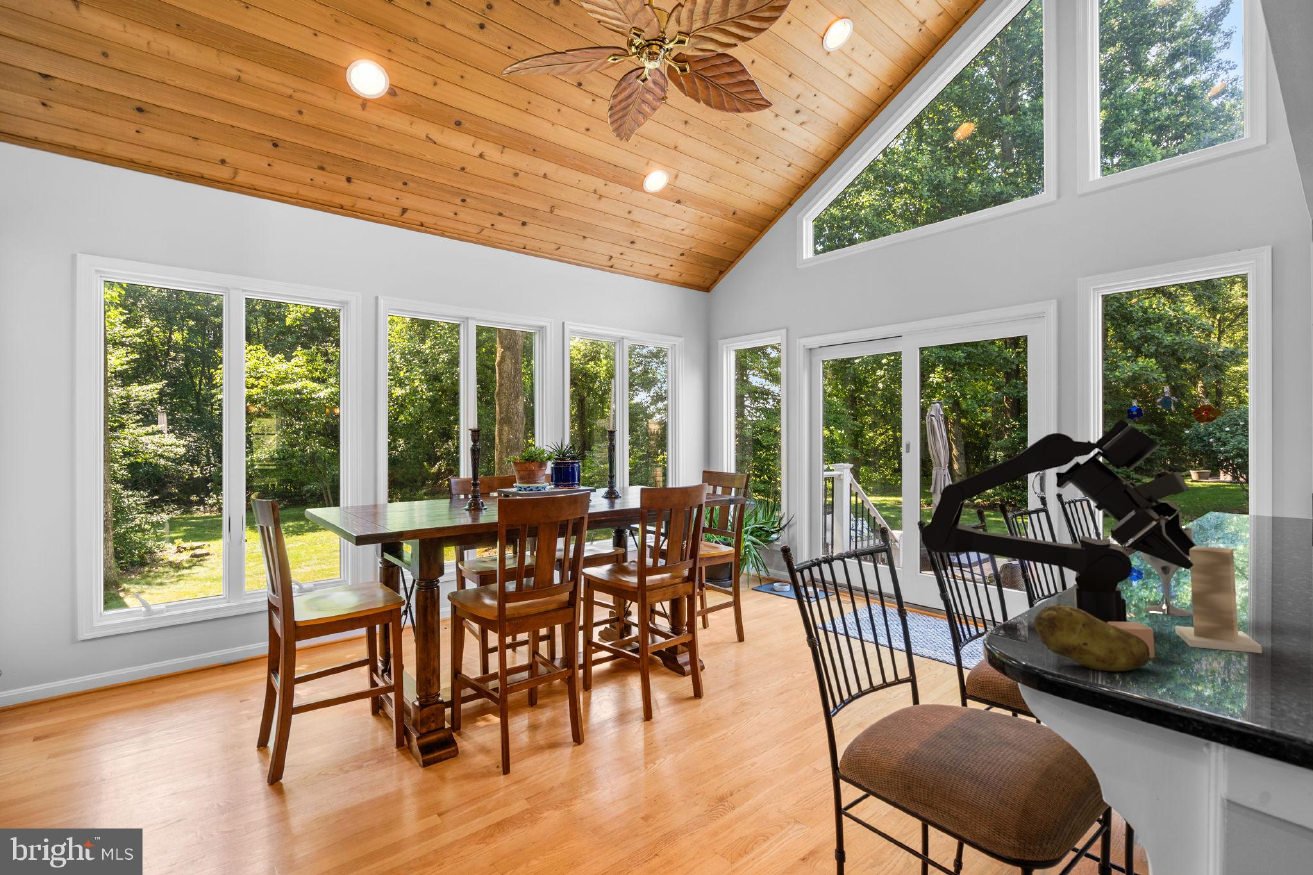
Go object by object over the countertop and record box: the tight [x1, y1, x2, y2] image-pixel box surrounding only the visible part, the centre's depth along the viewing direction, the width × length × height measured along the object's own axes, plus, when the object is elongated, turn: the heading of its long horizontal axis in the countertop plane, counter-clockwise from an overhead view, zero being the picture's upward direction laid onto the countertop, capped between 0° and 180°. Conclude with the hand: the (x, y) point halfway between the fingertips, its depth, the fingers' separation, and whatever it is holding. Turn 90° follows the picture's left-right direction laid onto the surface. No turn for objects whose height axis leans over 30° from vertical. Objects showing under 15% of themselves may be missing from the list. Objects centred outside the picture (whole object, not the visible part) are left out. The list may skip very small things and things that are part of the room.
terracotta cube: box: [1108, 621, 1155, 658], centre depth 91 cm, size 4×4×4 cm
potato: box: [1033, 604, 1150, 672], centre depth 86 cm, size 8×13×8 cm, turn 50°
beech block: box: [1189, 545, 1239, 642], centre depth 94 cm, size 4×4×13 cm
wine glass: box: [1139, 525, 1194, 617], centre depth 112 cm, size 8×8×15 cm
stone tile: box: [1175, 625, 1263, 654], centre depth 94 cm, size 8×8×1 cm
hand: (1196, 562), depth 95 cm, fingers open, 9 cm apart
